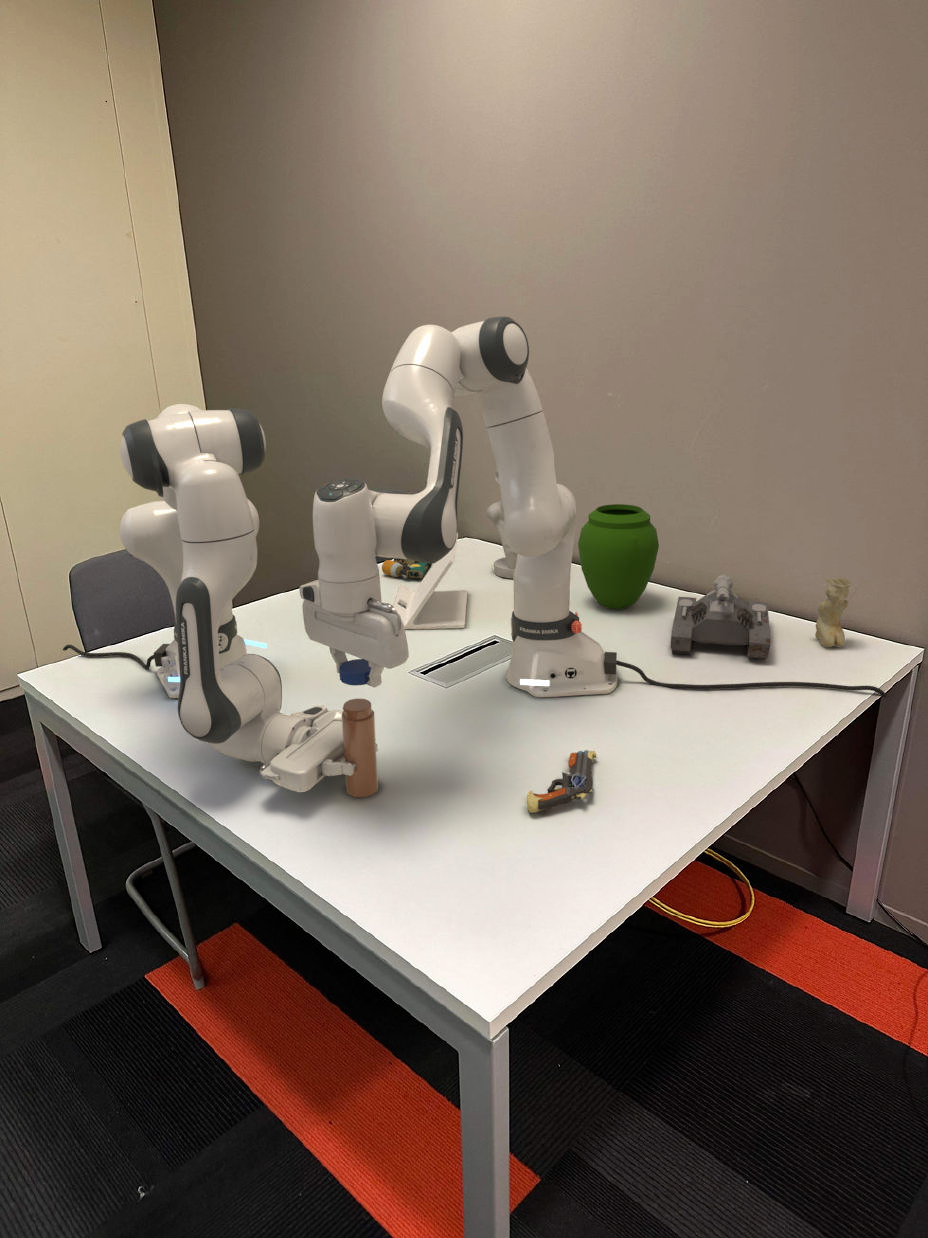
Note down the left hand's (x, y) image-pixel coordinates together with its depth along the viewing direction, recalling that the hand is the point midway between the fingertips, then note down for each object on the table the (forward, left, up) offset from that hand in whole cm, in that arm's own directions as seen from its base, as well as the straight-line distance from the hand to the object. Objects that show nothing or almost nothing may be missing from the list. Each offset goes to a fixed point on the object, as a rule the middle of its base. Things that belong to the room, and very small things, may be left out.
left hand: (365, 759), depth 135 cm
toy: (+2, +94, -6) cm, 94 cm away
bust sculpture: (-63, +96, -6) cm, 115 cm away
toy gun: (+20, +24, -6) cm, 32 cm away
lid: (0, 0, +16) cm, 16 cm away
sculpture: (+20, +108, -6) cm, 110 cm away
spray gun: (-88, +75, -6) cm, 116 cm away
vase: (-29, +95, -6) cm, 99 cm away
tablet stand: (-59, +59, -6) cm, 83 cm away
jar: (-1, 0, -6) cm, 6 cm away
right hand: (0, 0, +14) cm, 14 cm away
